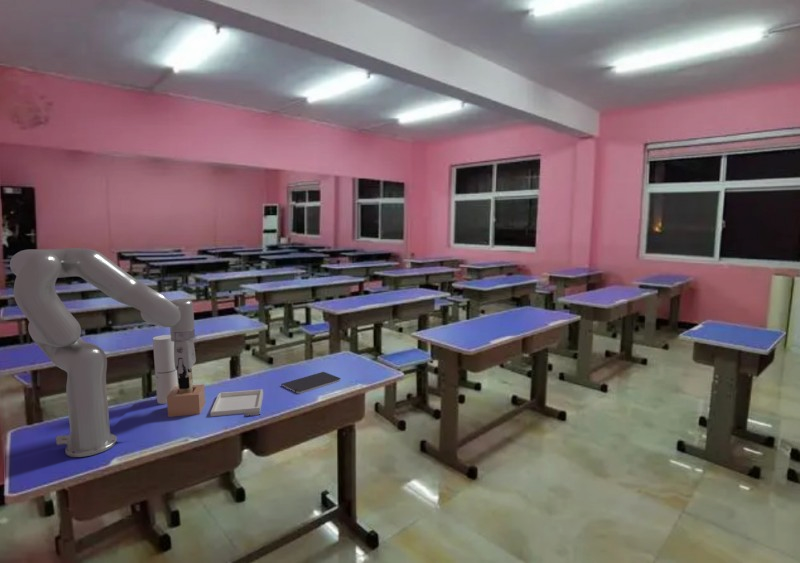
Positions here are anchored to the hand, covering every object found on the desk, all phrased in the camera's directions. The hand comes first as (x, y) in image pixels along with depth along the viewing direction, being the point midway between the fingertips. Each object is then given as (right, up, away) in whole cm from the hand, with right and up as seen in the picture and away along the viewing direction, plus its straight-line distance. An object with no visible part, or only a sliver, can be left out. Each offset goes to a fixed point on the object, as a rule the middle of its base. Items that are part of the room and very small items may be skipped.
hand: (186, 385), depth 154 cm
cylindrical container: (-11, -9, +10) cm, 17 cm away
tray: (+16, -9, +6) cm, 20 cm away
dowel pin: (0, -9, +1) cm, 9 cm away
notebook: (+38, -7, +30) cm, 49 cm away
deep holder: (0, -10, +1) cm, 10 cm away
